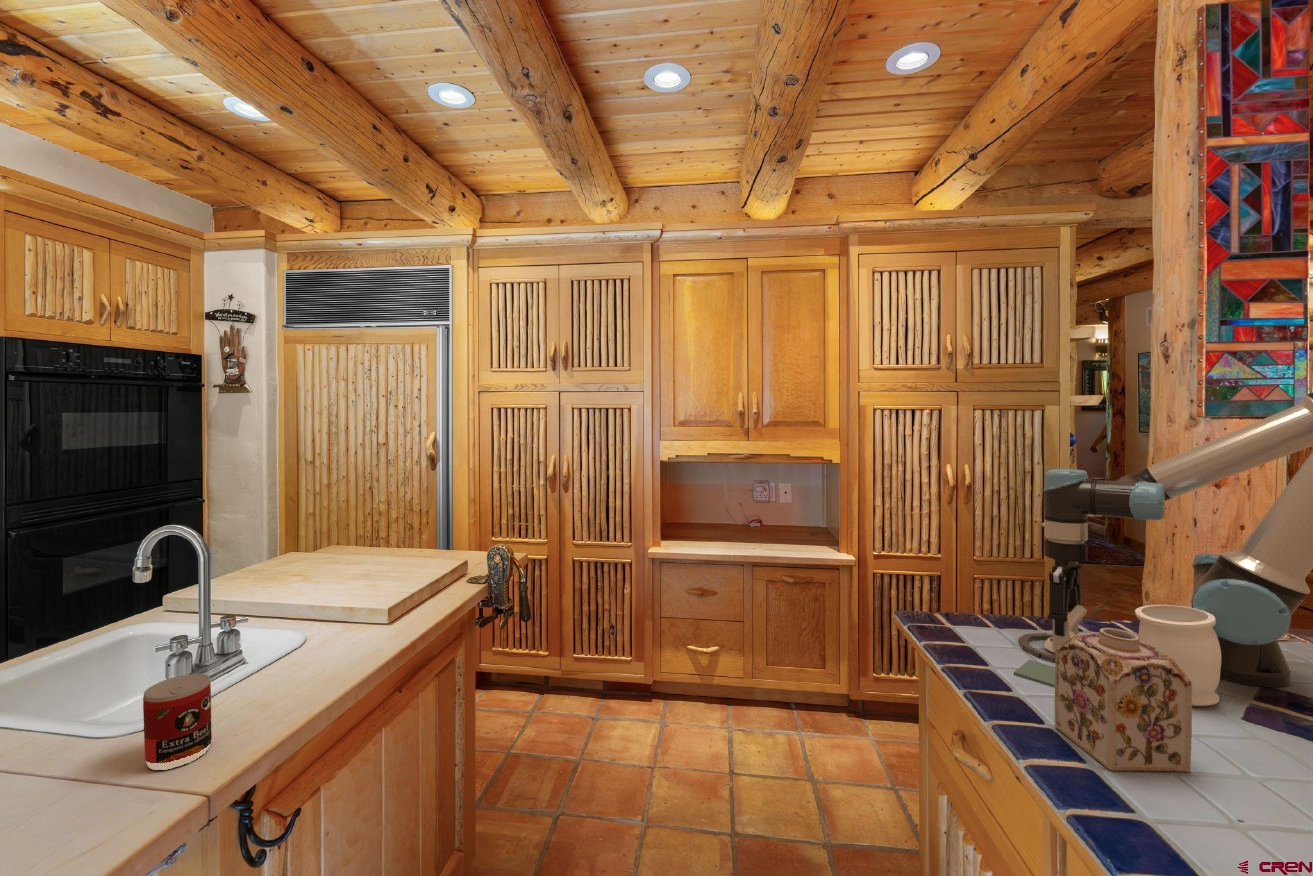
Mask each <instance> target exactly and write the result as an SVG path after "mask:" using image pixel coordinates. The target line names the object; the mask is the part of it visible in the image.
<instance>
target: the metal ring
mask: <svg viewBox="0 0 1313 876" xmlns="http://www.w3.org/2000/svg"><path fill="white" fill-rule="evenodd" d="M1051 637H1053V633H1045V632H1037V633H1024V634H1023V635H1022V636H1020V637H1018V646H1020V648H1021V647H1022V648H1021V649H1022V650H1023V651H1024V652H1025V651H1026V652H1025V653H1028V654H1030V655H1031V656H1034V657H1036V658H1037V659H1041V660H1043V661H1047V662H1049V661H1050V663H1054V664H1056V655H1053V654H1050V653H1047V652H1043V651H1042V650H1039V649H1038V648H1036V647H1033V646H1032V645H1031V644H1030V643H1031V642H1032V640H1035V641H1047V639H1048V638H1051ZM1030 641H1031V642H1030Z"/></svg>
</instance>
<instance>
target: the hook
mask: <svg viewBox="0 0 1313 876" xmlns="http://www.w3.org/2000/svg"><path fill="white" fill-rule="evenodd" d="M1087 613H1088V609H1086V608H1085V606H1083V605H1082V606H1081V605H1077V606H1076V607H1075V608H1074V609H1073V610H1072V611H1071V612H1070V613H1069V614H1068V615H1067V621H1069V639H1070V638H1072V637H1074V636H1075V634H1074V633H1073V632H1072V631H1071V630H1072V629H1073V627H1074V626H1075V625H1076V624H1077V623H1078V622H1080V621H1081V620H1082V619H1083V617H1085V616H1086V615H1087ZM1043 646H1044V647H1043V648H1045V649H1046V650H1047V651H1049V652H1052V653H1054V654H1056V649H1053V637H1051V638H1048V639H1047V640H1045V642H1044V644H1043Z"/></svg>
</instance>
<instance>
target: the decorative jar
mask: <svg viewBox="0 0 1313 876" xmlns="http://www.w3.org/2000/svg"><path fill="white" fill-rule="evenodd" d="M1055 656H1056V663H1054V664H1055V665H1054V667H1055V687H1054V727H1055V729H1057V730H1058V731H1060V732H1061V733H1063V734H1064V735H1065V736H1066V737H1067V738H1069V740H1071V741H1072V742H1073V743H1075V744H1076V745H1077V746H1078V747H1080V748H1081V750H1083V751H1085V752H1086V753H1087V754H1089V755H1090V756H1091V757H1093V758H1094V759H1095V760H1096V761H1097V762H1099V763H1100V764H1102V765H1103V766H1104V767H1105V768H1107V769H1108V770H1109V771H1112V772H1116V771H1117V772H1118V771H1119V772H1120V771H1121V772H1122V771H1124V772H1133V771H1137V772H1138V771H1139V772H1140V771H1141V772H1142V771H1143V772H1180V773H1182V772H1185V773H1189V772H1190V771H1191V764H1192V758H1191V757H1192V737H1193V735H1192V734H1193V733H1192V732H1193V730H1192V727H1193V726H1192V725H1193V724H1192V723H1193V722H1192V719H1193V710H1192V707H1193V705H1192V683H1191V681H1190V679H1189V678H1188V677H1187V676H1186V675H1185V673H1184V672H1183V671H1182V670H1181V669H1180V667H1179V666H1178V665H1177V664H1176V663H1175V661H1174V660H1173V659H1172V658H1171V656H1170V655H1169V654H1167V653H1165V652H1163V651H1161V650H1159V649H1157V648H1155V647H1153V646H1151V645H1149V644H1147V643H1145V642H1141V641H1139V635H1137V634H1135V633H1133V632H1130V631H1127V630H1122V629H1119V628H1112V627H1102V628H1100V629H1099V631H1098V632H1089V633H1088V632H1086V633H1085V632H1084V633H1079V634H1077V635H1075V636H1074V637H1072V638H1070V639H1069V640H1067V641H1066V642H1064V643H1063V644H1062V645H1060V647H1058V648H1057V649H1056V653H1055Z"/></svg>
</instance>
